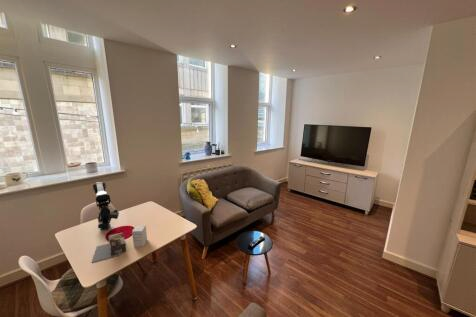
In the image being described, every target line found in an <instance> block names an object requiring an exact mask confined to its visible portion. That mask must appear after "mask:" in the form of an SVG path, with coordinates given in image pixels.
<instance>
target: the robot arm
mask: <svg viewBox="0 0 476 317" xmlns="http://www.w3.org/2000/svg"><path fill="white" fill-rule="evenodd" d="M106 189H107V185H106V182H103V181H97V182H95V183H94V184H92V190H93V191H94V194H95V195H96V196H95V202H96V207H98V210H99V211H98V213H97V220H98V221H97V222H98V225H97V229H100V231H103V230H105V231H109V229H110V227H111V221H112V219H114V220H118V218H119V214H120V212H119V211H118V209H114V210H112V211H111V209H110V206H109V205H110V204H111V202H112V201H111V196H110V195H109V194H108V192H107V191H106Z"/></svg>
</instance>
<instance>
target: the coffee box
mask: <svg viewBox="0 0 476 317" xmlns="http://www.w3.org/2000/svg"><path fill="white" fill-rule="evenodd" d="M108 244H109V246H110V253H111V255H115V254H118V253H119V254H122V253H124V252H127V251H126V249H127V247H126V246H127V245H126V244H127V243H126V241H125V236H124V232H120V233H115V234H114V233H113V234H110V235H108Z"/></svg>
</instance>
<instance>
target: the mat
mask: <svg viewBox="0 0 476 317" xmlns="http://www.w3.org/2000/svg"><path fill="white" fill-rule="evenodd" d="M119 255H120V253H118V254H115V255H111V253H110V246H109V243H107V244H106V243H105V244H101V245H97V246H96V248H95V251H94V254H93V256H92V260H91V263H92V264H93V263H98V262H100V261H105V260H108V259H112V258H115V257H119Z"/></svg>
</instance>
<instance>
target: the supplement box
mask: <svg viewBox="0 0 476 317" xmlns="http://www.w3.org/2000/svg"><path fill="white" fill-rule="evenodd" d="M131 235H132V243H133V247H144V246H145V244H146V243H147V241H148V234H147V226H146V225H136V226H135V227H134V228H133V229H132V231H131Z"/></svg>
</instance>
